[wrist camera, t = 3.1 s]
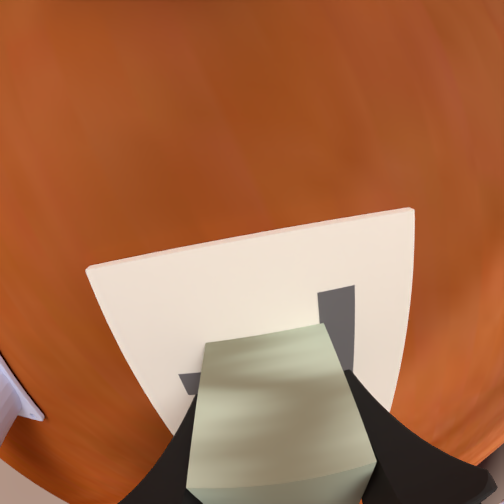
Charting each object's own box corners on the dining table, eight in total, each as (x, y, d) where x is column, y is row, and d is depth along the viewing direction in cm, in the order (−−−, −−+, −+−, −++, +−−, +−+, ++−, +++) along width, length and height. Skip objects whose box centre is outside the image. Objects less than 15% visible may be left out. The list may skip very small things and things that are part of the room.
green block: (231, 412, 12) (230, 525, 7) (205, 342, 11) (186, 487, 5) (326, 396, 12) (356, 507, 6) (323, 322, 10) (376, 461, 5)
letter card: (185, 445, 14) (184, 450, 14) (89, 265, 10) (84, 270, 9) (385, 412, 14) (388, 417, 13) (408, 207, 9) (414, 209, 9)
